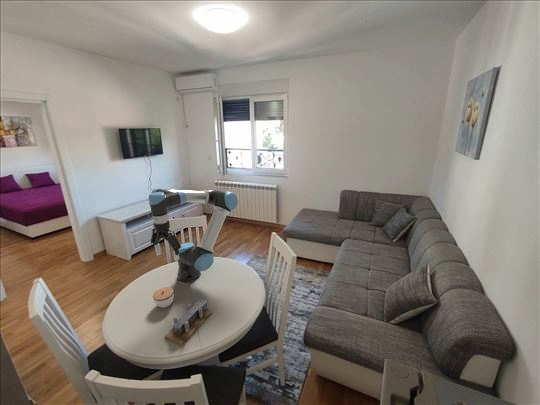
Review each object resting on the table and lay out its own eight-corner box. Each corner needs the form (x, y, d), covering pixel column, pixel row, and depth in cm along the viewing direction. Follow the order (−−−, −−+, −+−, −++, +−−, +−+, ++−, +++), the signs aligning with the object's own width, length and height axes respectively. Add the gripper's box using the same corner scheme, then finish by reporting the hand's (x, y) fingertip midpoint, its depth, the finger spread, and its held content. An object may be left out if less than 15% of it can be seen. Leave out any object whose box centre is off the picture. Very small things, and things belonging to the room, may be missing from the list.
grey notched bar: (200, 306, 134) (199, 299, 132) (208, 309, 132) (207, 301, 130) (173, 333, 117) (171, 325, 115) (181, 337, 115) (179, 329, 113)
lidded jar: (153, 312, 132) (150, 298, 130) (156, 300, 142) (154, 286, 139) (174, 308, 135) (171, 294, 132) (176, 296, 145) (173, 283, 142)
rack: (196, 307, 135) (194, 296, 133) (212, 313, 131) (210, 302, 128) (165, 338, 116) (162, 325, 114) (182, 346, 112) (179, 333, 110)
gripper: (138, 220, 128) (146, 256, 135) (173, 228, 118) (179, 265, 124) (150, 216, 134) (157, 249, 141) (184, 222, 124) (190, 258, 131)
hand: (167, 257), depth 133 cm, fingers open, 13 cm apart
